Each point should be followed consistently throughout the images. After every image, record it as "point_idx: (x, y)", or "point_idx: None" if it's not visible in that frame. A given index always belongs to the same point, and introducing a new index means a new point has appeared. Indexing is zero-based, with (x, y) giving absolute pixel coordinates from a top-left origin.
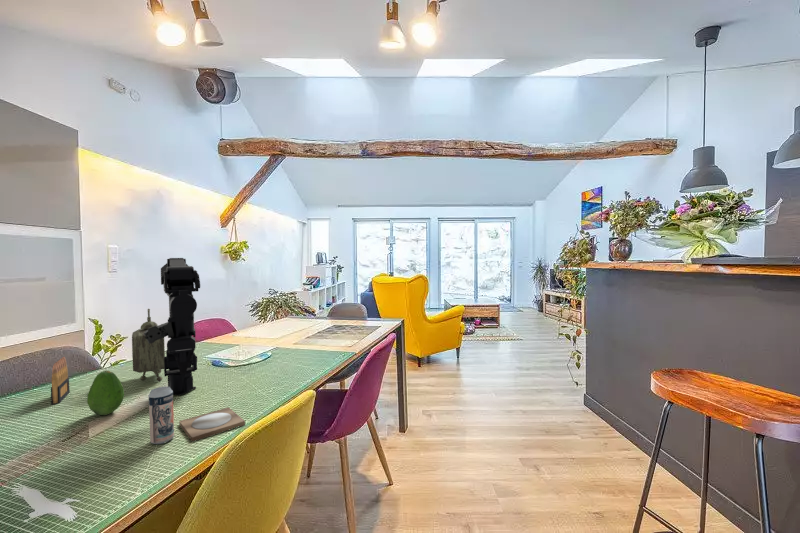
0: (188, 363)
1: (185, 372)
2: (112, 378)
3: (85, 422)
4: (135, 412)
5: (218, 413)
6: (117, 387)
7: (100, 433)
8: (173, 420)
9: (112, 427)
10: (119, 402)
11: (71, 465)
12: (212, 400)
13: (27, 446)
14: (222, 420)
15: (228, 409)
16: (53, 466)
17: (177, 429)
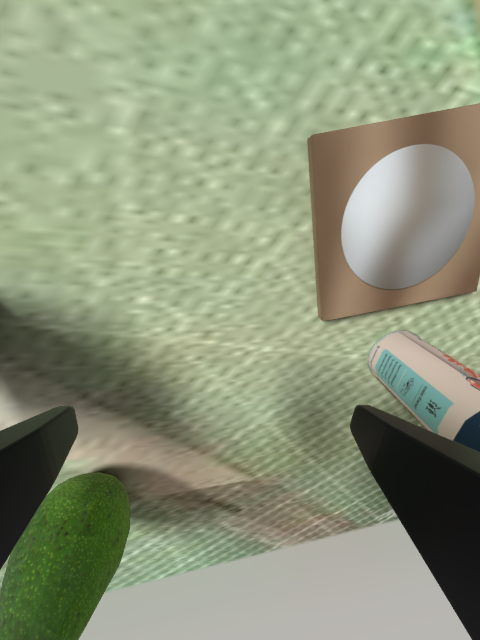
0: (471, 455)
1: (374, 408)
2: (65, 614)
3: (143, 503)
4: (126, 424)
5: (361, 191)
6: (81, 551)
7: (241, 467)
8: (444, 354)
9: (217, 454)
10: (102, 487)
11: (372, 477)
12: (126, 189)
13: (226, 546)
14: (441, 187)
15: (339, 141)
16: (353, 496)
17: (347, 321)
